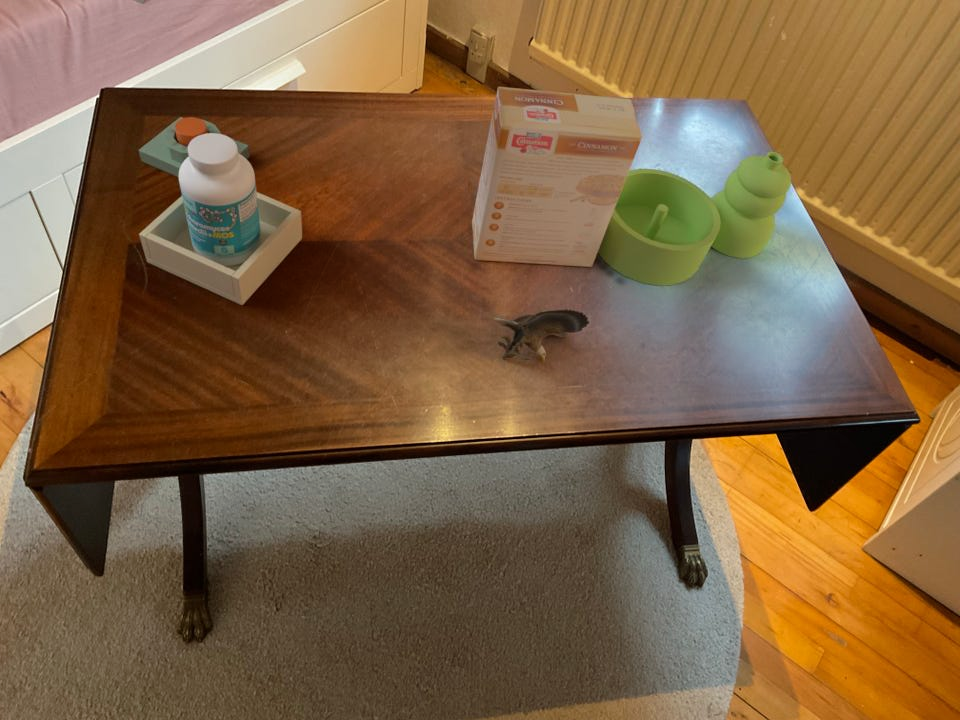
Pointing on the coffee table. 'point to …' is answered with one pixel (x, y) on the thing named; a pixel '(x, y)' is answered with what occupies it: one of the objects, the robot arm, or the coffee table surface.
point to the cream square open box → (237, 283)
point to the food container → (692, 220)
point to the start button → (189, 129)
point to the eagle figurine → (539, 330)
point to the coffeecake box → (552, 176)
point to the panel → (175, 149)
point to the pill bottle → (220, 200)
